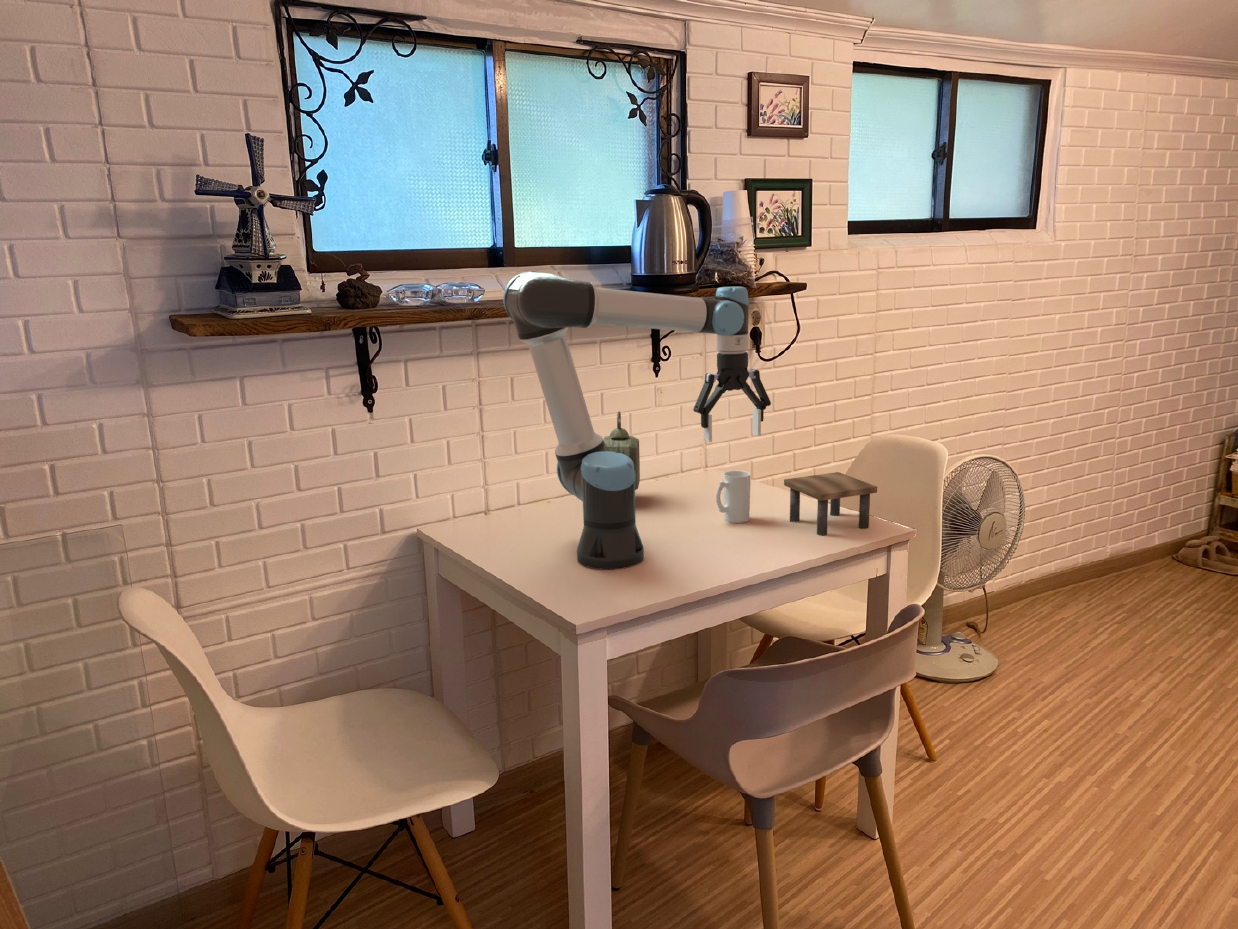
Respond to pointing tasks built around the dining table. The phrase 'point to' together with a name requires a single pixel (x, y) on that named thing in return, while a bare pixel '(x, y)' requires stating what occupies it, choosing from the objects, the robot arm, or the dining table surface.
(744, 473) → the mug
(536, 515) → the dining table surface
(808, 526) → the dining table surface
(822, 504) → the small wooden stand
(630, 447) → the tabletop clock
